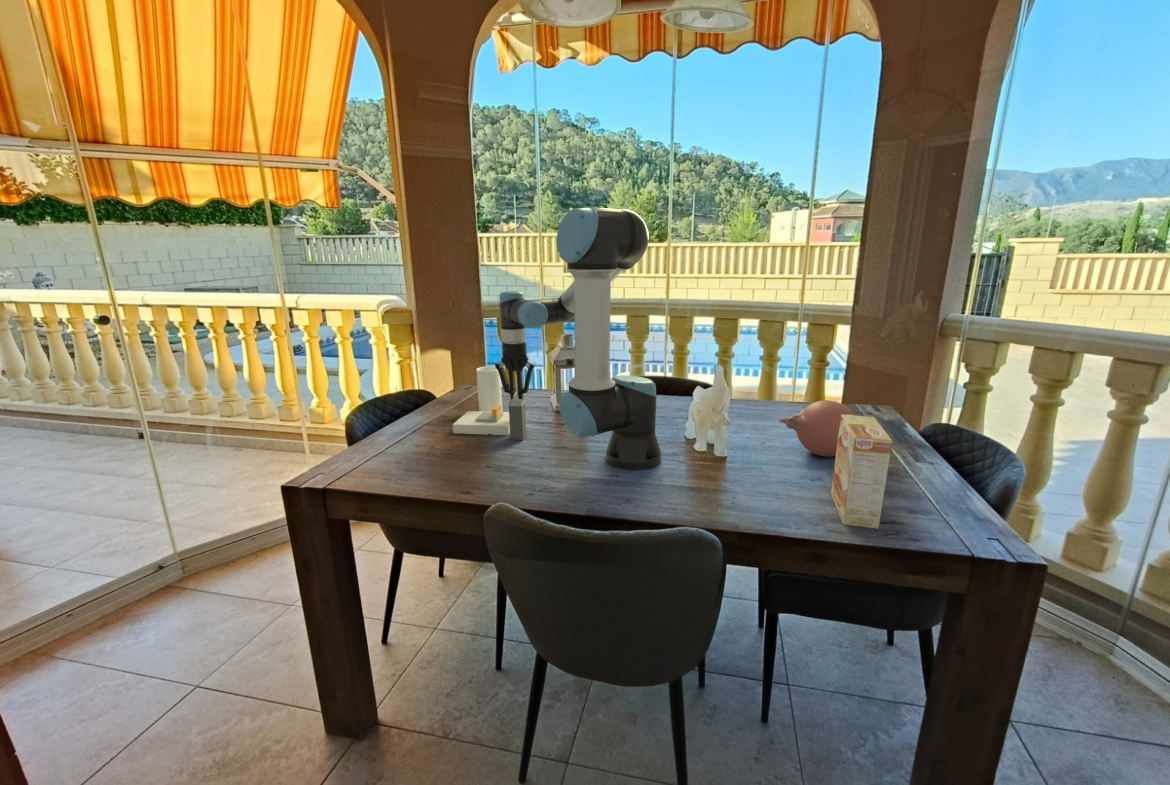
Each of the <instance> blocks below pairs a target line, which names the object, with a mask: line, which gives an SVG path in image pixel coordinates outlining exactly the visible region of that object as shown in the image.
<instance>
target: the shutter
mask: <svg viewBox="0 0 1170 785" xmlns="http://www.w3.org/2000/svg"><path fill="white" fill-rule="evenodd" d="M502 416H503V413H501V405H496V406H495V407H494V408H493V409H492V412H483V413H482V414H480V415H479V416H478V417H477V418H476V421H486V422H497V421H498V420H499V419H500V418H501V417H502Z"/></svg>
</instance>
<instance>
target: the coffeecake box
mask: <svg viewBox="0 0 1170 785" xmlns="http://www.w3.org/2000/svg"><path fill="white" fill-rule="evenodd" d="M892 445H893V439H892V438H891V437H890V436H889V434H888V433H887V432H886V431H885V429H884V428H883V427H882V425H881V424H880V423H879V422H878V420H877V419H876V417H874V416H867V415H866V416H864V415H863V416H862V415H855V414H854V415H841V418H840V427H839V435H838V442H837V450H836V456H835V459H834V468H833V476H832V482H831V491H830V496H831V498H832V500H833V503H834V505H835V507H836V509H837V513H838V515H839V518H840V521H841V523H842V525H844V526H850V525H851V526H853V527H861V526H862V527H861V528H868V529H877V530H878V529H879V528H880V522H881V515H882V509H883V502H884V495H885V491H886V490H885V489H886V483H887V477H888V471H889V465H890V458H891V453H892V452H891V451H892Z"/></svg>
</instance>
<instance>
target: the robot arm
mask: <svg viewBox="0 0 1170 785" xmlns="http://www.w3.org/2000/svg"><path fill="white" fill-rule="evenodd" d="M649 237H650V236H649V230H648V227H647V224H646V222H645V221H644V219H643V218H642V217H641V216H640V214H637V213H636V212H634V211H632V210H630V209H625V208H618V209H617V208H616V209H615V208H603V207H577V208H573V209H571V210H569V211H568V212H566V214H565V215H564V216H563V217H562V220H561V221H560V223H559V226H558V229H557V234H556V249H557V252H558V256H559V257H560V259H561V260H562V261H563V262H565V263H567V267H566V268H567V272H569V273H570V274H571V275H572V277H573V282H572V283H571V284H570V285H569V286H568V287H567V289H566V290H564V292H563V293H562V294H561V295H560V296H559V297H556V298H554V297H553V298H545V299H544V298H542V299H541V298H540V299H525V295H524V292H523V291H519V290H509V291H508V290H507V291H501V292H500V293H499V303H498V306H499V317H500V330H501V331H500V333H501V334H500V336H501V342H502V343H501V348H502V350H501V351H502V357H501V360H499V361H498V362H496V363H495V364H494V366H495V367H496V369H497V370H498V372H499V375H500V378H501V386H502V388H503V391H504V393H505V394H509V395H510V396H509V397H510V400H511V399H524V394H526V393H528V392H529V390H530V385H531V381H532V380H531V379H532V375H533V371H534V368H535V367H536V365H537V364H536V363H535V362H531V360H529V358H528V354H527V352H528V351H527V342H526V340H527V337H526V336H527V331H526V327H527V328H528V329H529V328H531V329H532V328H534V329H535V328H536V329H537V328H541V327H542V326H544V325H553V324H563V323H564V324H565V323H574V328H573V329H574V376H573V377H572V378H571V379H570V380H569V382H568V392H565V393H564V394H562V395H561V398H560V399H559V403H558V404H559V413H560V417H561V420H562V421H563V424H564V426H565V427H566V429H567V431H569V432H570V434H572V435H573V436H574V437H577V438H581V439H582V438H587V437H596V435H601V434H605V433H608V432H611V435H610V438H609V440H608V444H607V447H606V450H605V461H606V463H608V465H610V466H612V467H615V468H617V469H622V470H628V471H643V470H648V469H651V468H654V467H657V466H658V465H660V464H661V461H662V451H661V448H660V444H659V441H658V439H657V435H656V434H657V433H656V421H657V420H656V418H657V415H656V414H657V397H658V396H657V387H656V383H655V382H654V381H653V380H652V379H650V378H646V377H642V376H636V375H625V374H624V375H614V376H613V377H611V376H610V370H611V369H610V368H611V367H610V364H611V363H610V360H611V359H610V358H611V296H612V295H611V293H612V292H611V289H612V288H611V287H612V286H611V282H613V281H614V280H615V279H616V278H617V277H618V276H619V275H620V274H621V273H622V272H623V271H627V270H630V269H632V268H633V267H634V266H635V265H636V264H637V263H638V262H639V261H640V260H641V259H642V258H643V256H644V255H645V253H646V251H647V249H648V245H649V240H650V238H649ZM525 366H526V368H527V371H526V373H525V374H526V375H525V379H524V378H523V372H524V371H523V370H524V368H525ZM504 367H505V368H506V369H507V371H508V373H507V374H508V376H507V374H506V370H505V368H504ZM515 374H516V376H515ZM516 384H517V385H516ZM516 388H517V390H516Z"/></svg>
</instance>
